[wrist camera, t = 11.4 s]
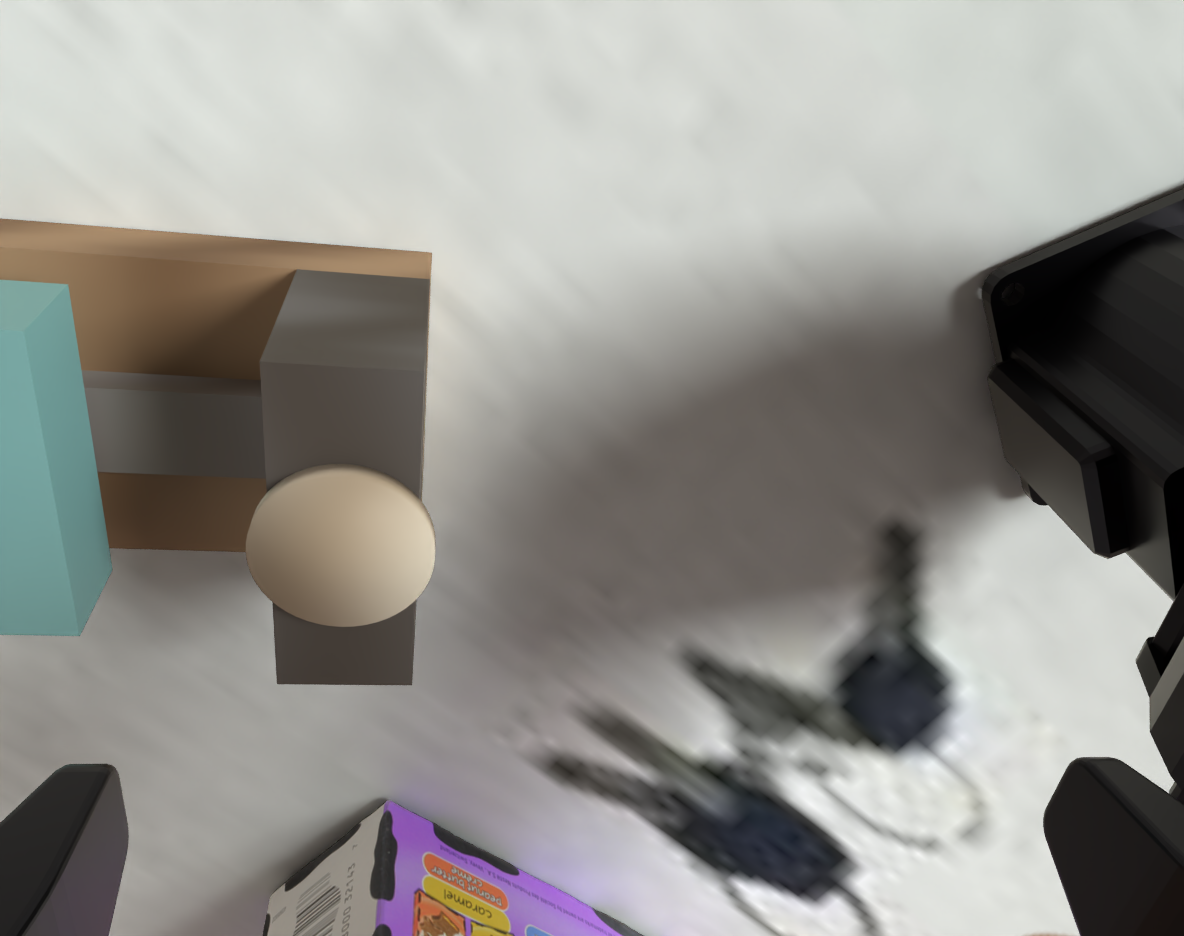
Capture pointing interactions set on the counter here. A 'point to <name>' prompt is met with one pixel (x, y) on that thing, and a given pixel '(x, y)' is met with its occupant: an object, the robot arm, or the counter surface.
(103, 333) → the rail
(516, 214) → the counter surface
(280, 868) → the counter surface
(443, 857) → the candy box
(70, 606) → the carriage
